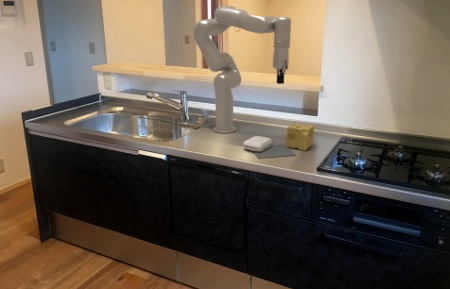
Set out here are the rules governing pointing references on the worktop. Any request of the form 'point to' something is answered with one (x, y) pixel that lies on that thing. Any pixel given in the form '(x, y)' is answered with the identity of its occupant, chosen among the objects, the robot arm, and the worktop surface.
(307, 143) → the cheese
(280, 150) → the mat
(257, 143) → the photo printer
